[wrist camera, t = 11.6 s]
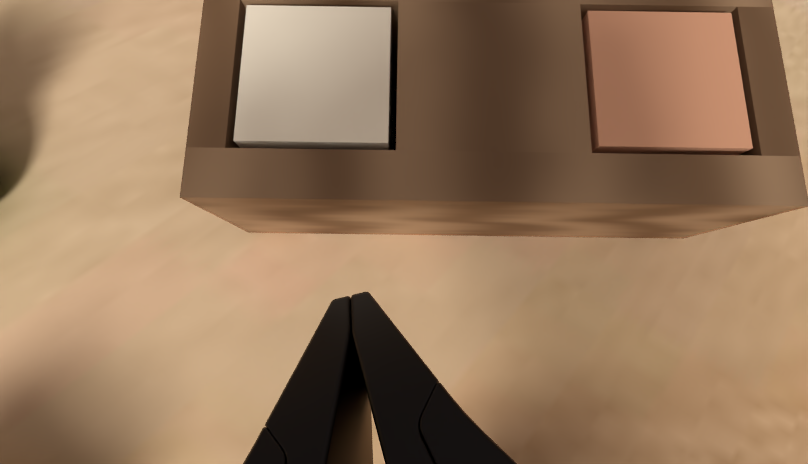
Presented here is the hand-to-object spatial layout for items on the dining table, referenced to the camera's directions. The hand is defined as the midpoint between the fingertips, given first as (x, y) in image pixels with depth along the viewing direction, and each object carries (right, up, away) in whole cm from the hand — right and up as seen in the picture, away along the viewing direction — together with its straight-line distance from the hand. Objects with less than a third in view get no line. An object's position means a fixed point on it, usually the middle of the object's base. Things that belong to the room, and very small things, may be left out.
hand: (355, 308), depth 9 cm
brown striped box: (+5, +7, +14) cm, 16 cm away
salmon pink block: (+12, +7, +14) cm, 19 cm away
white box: (-3, +7, +14) cm, 16 cm away
